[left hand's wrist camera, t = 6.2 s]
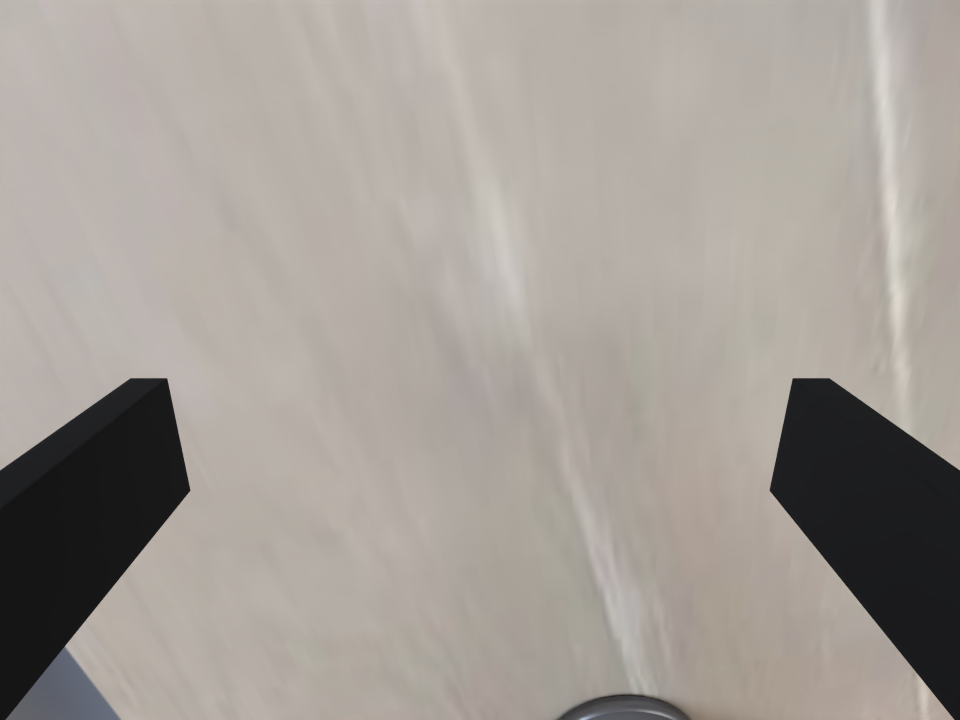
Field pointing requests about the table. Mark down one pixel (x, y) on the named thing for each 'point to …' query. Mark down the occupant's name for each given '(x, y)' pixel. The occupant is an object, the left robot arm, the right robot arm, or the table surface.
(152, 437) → the left robot arm
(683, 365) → the table surface
